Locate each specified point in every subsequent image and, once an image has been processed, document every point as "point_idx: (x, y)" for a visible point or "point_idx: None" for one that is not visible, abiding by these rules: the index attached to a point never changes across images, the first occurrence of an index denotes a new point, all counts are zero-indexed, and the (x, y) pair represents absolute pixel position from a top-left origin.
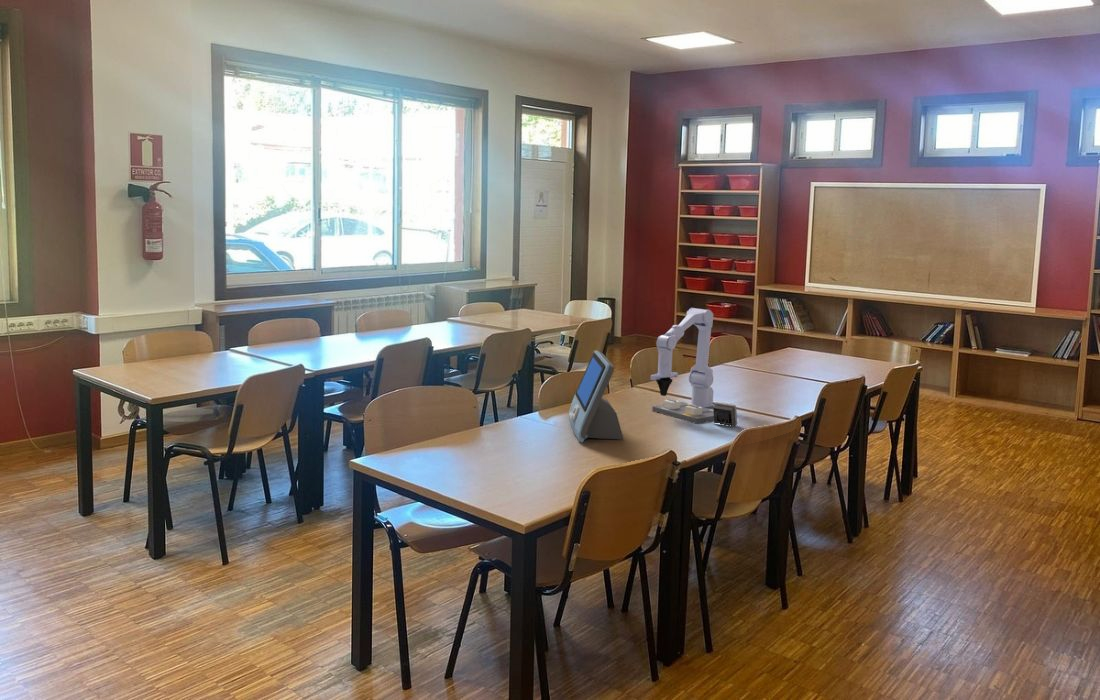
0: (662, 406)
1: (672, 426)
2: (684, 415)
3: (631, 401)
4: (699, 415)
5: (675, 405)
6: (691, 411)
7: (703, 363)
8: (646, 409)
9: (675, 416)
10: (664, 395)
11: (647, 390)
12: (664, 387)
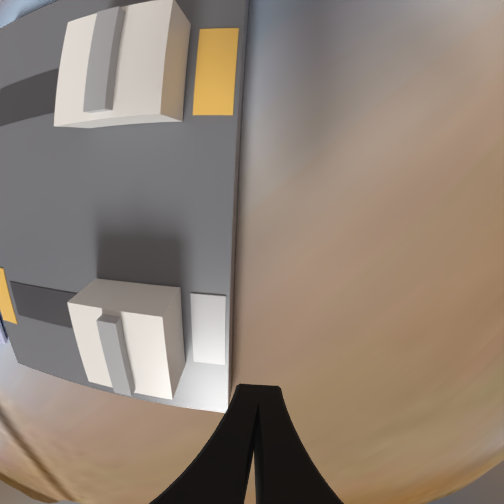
0: None
1: (449, 43)
2: (240, 76)
3: None
4: None
5: (127, 295)
6: (180, 37)
7: None
8: None
9: (237, 184)
10: (271, 388)
11: (64, 486)
12: (317, 476)
